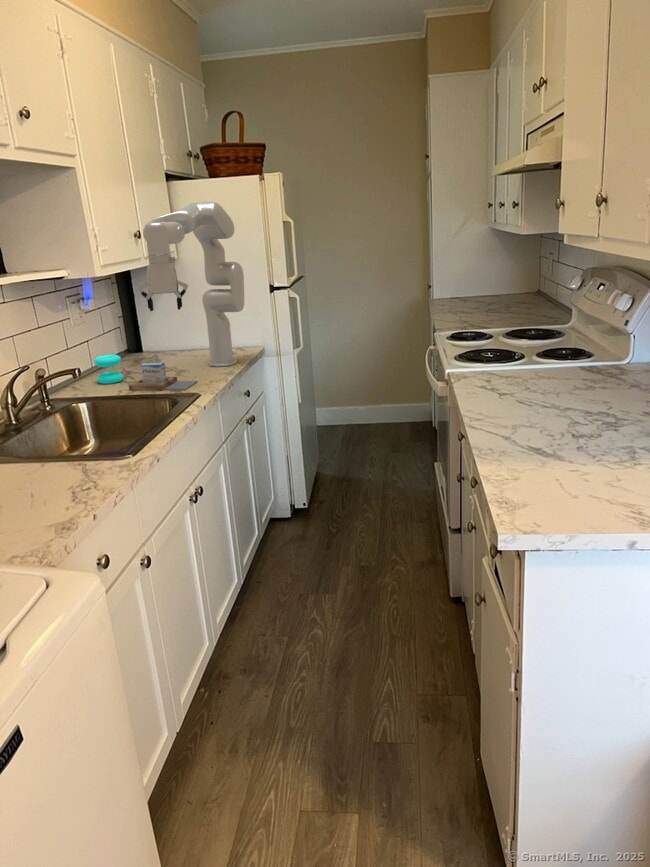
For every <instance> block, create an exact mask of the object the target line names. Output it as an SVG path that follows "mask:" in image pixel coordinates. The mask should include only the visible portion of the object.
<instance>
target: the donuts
mask: <svg viewBox="0 0 650 867" xmlns="http://www.w3.org/2000/svg"><path fill="white" fill-rule="evenodd" d="M121 361H122V357H121V356H120V355H118V354H106V355H105V354H104V355H100V356H97V357H95V359H94V361H93V362H94V364H95V365H96V366H97V367H99V368H112V367H115V366H118V365H119V364H120V363H121ZM124 377H125V375H124V374H123V373H122V372H120V371H115V370H112V371H109V370H108V371H104V372H101V373H99V375H97V380H96V381H97V382H98V383H99V384H102V385H103V384H104V385H111V384H112V385H113V384H117V383H120V382H122V381H123V380H124Z"/></svg>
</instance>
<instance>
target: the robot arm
mask: <svg viewBox="0 0 650 867" xmlns="http://www.w3.org/2000/svg"><path fill="white" fill-rule="evenodd" d="M142 233H143V234H142V235H143V239H144V240H145V242H146V248H147V255H148V257H147V258H148V263H149V264H147V268H146V272H147V273H146V280H147V281H146V282H144V283H142V284H141V285H139V286H138V287H137V290H138V291H139V293H140V295H141V296H142V297H144V298H145V299H146V301H147V308H148V309H149V310H150V312H153V311H154V302H153V298H152V297H153V295H158V294H159V295H161V294H174V295H175V296H176V297H177V298H176V304H177V310H178V311H180V310H181V309H182V307H183V301H182V300H183V298H182V297H183V296H184V295H185V294H186V292H187V290H188V287H189V285H188V283H185V282H183V281H181V280H178V275H177V270H176V266H175V263H172V262H173V261H175V260H176V256H175V255H172V254H171V248H170V247H171V246H170V245H176V244H180V243H181V242H182V241H184V239H185V235H187V234H190V233H193V235H194V236H195V238H196V239H197V240H198V242H199V244H200V246H201V248H202V251H203V258H204V276H205V277H204V278H205V282H206V283H207V284H208V285H210V286H215V287H219V286H220V287H221V286H223V287H224V286H226V287H227V286H229V287H230V288H211V289H208V290H206V291H204V293H203V294H202V298H201V299H202V300H201V302H202V306H203V309H204V313H205V318H206V326H207V334H208V337H207V338H208V346H209V355H210V360H208V361H207V366H209V367H217V368H218V367H228V366H230V367H231V366H234V365H236V364H237V363H238V360H237V359H236V358H234V350H233V345H232V344H233V343H232V342H233V341H232V333H231V322H230V320H229V317H228V316H227V315H226V314H225V313H240V312H242V311H243V309H244V308H245V279H244V278H245V277H244V276H245V275H244V271H243V270H244V269H243V267H242V265H241V264H240V263H239V262H236V261H226V255H225V254H226V252H225V248H224V246H223V245H222V243H221V241H220V240H228V239H231V238H232V237H233V236H234V234H235V224H234V222H233V219H232V217H231V216H230V215H229V213H227V211H226V210H225V209H224V208H223V206H222V205H220V203H218V202H215V201H199V202H192V203H189V204H188V205H186V206H185V207H183V208H181V209H180V210H177V211H174V212H171V213H168V214H164V215H161V216H158V217H155V218H153V219H151V220H149V221H148V222H147V223H146V224H145V225H144V228H143V232H142ZM179 286H180V287H182V290H181V291H180V290H179ZM146 287H147V291H148V293H147V292H146V291H145V288H146Z"/></svg>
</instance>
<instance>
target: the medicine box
mask: <svg viewBox="0 0 650 867" xmlns="http://www.w3.org/2000/svg"><path fill="white" fill-rule="evenodd" d="M140 368H141V377H142V378H143V383H163V382H164V381H166V377H167V373H166V363H165V362H145V363H142V364H141V365H140ZM142 378H141V379H142Z"/></svg>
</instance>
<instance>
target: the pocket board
mask: <svg viewBox="0 0 650 867" xmlns="http://www.w3.org/2000/svg"><path fill="white" fill-rule="evenodd" d="M177 381H178V376H166V381H164V382H163V383H143V378H140V379H138V380H136V381H134V382H132V383H130V384H129V385H128V390H129V391H131V392H133V391H134V392H135V391H140V392H141V391H142V392H143V391H145V392H149V391H150V392H156V391H157V392H162V391H164V390H165V388H167V387H169V386H170V385H172V384H174V383H175V382H177Z"/></svg>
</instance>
